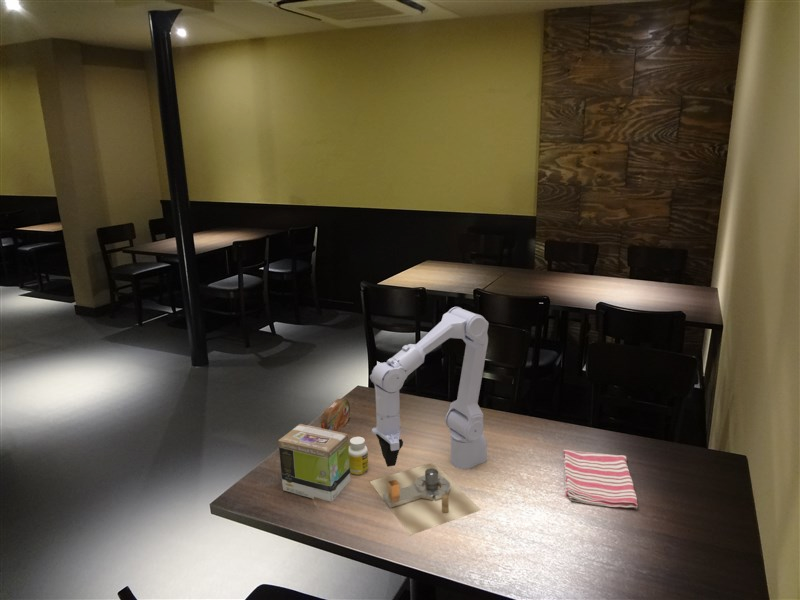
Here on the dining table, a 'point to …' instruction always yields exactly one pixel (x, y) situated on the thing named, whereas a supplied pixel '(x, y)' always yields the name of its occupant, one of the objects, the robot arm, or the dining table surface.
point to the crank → (414, 491)
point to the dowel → (445, 503)
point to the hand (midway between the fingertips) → (389, 461)
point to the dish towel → (598, 479)
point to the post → (431, 479)
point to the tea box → (314, 462)
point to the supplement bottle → (358, 456)
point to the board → (425, 501)
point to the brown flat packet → (336, 415)
